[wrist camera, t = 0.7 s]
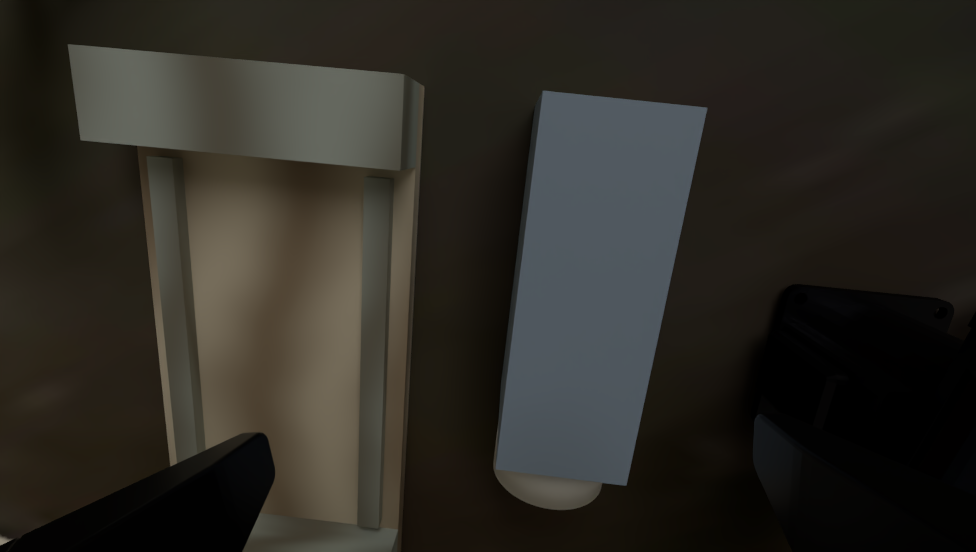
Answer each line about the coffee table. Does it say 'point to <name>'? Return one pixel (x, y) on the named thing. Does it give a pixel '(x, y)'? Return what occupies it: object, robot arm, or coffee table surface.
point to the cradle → (278, 271)
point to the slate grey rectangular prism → (589, 290)
